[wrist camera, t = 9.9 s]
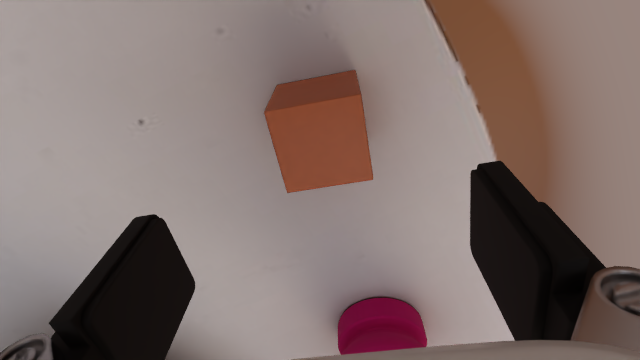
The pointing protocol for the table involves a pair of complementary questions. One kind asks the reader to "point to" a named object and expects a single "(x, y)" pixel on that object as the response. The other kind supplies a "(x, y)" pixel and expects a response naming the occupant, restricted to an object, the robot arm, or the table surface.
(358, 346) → the pepper mill
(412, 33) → the table surface
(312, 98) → the block
